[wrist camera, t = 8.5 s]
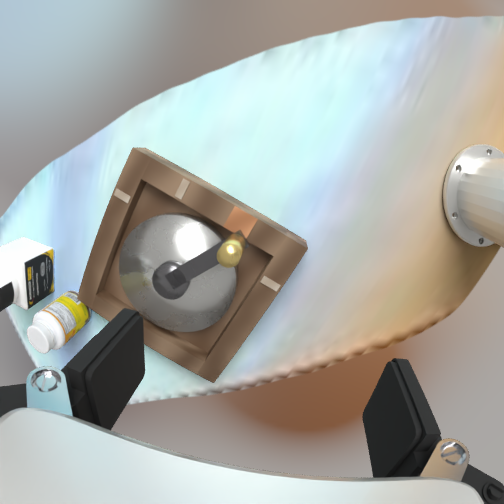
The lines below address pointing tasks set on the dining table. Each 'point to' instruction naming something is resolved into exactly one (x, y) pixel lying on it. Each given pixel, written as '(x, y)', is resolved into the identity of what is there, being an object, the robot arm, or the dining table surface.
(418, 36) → the dining table surface
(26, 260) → the medicine bottle
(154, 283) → the dial
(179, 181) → the housing
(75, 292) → the supplement bottle
